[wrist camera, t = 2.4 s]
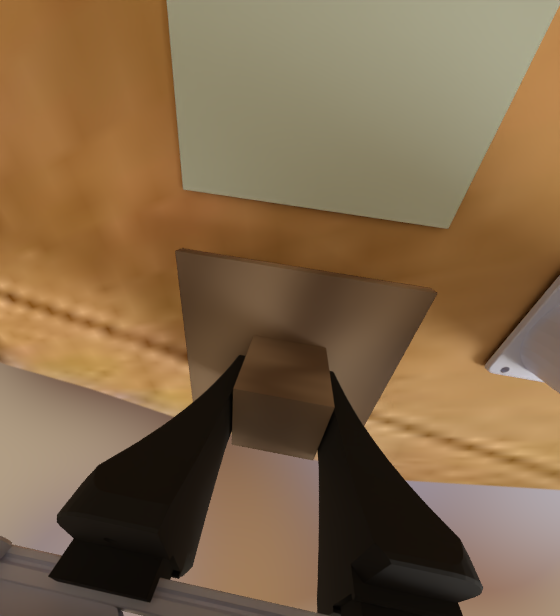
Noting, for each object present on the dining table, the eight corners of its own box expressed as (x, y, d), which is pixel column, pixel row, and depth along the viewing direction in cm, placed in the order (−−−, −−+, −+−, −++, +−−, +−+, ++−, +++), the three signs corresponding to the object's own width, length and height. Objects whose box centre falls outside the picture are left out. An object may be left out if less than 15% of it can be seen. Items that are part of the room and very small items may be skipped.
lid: (430, 288, 9) (511, 343, 6) (352, 434, 15) (368, 510, 11) (182, 248, 10) (107, 275, 6) (197, 405, 15) (164, 468, 12)
